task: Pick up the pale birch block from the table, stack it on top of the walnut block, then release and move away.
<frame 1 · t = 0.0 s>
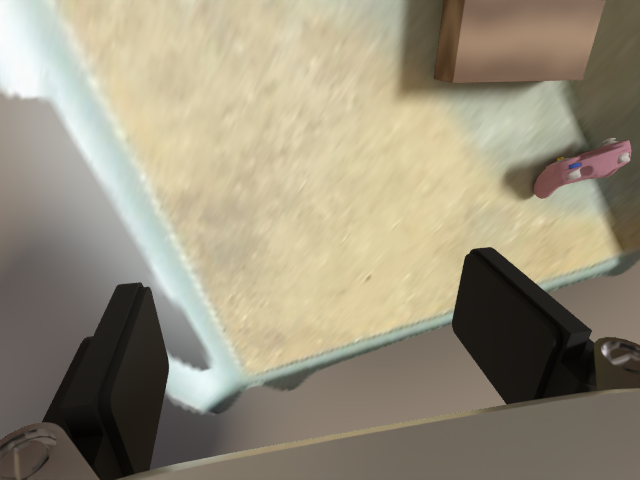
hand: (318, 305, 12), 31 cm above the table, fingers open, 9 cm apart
video game controller: (565, 162, 48), on the table
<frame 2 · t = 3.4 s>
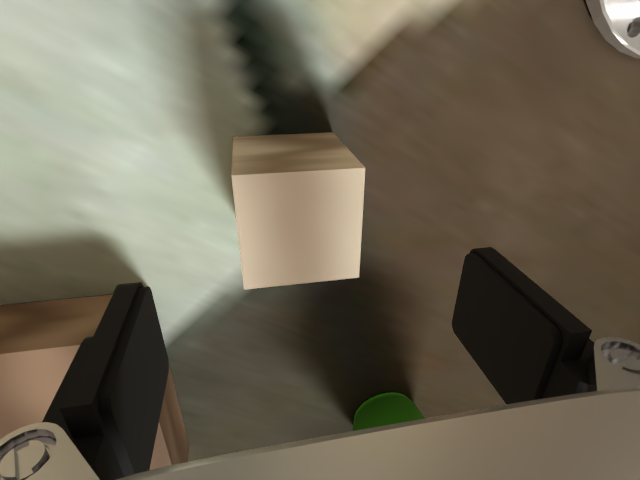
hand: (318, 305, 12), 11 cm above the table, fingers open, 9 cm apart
birch block: (285, 181, 21), on the table
cup: (382, 411, 32), on the table
walnut block: (56, 393, 25), on the table
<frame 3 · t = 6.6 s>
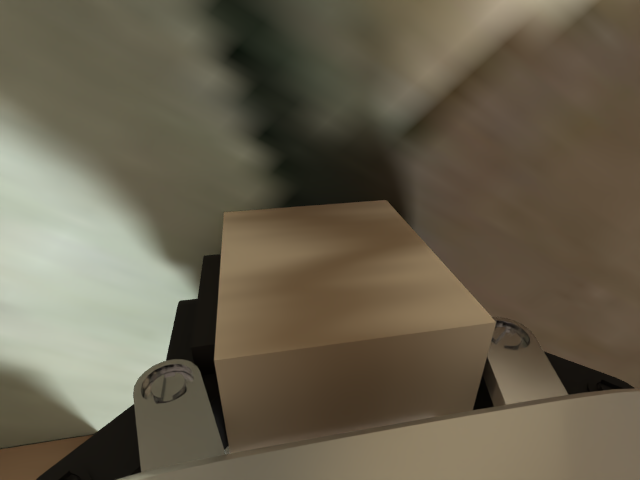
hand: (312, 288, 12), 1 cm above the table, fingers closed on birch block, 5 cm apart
birch block: (308, 274, 13), on the table, touching gripper
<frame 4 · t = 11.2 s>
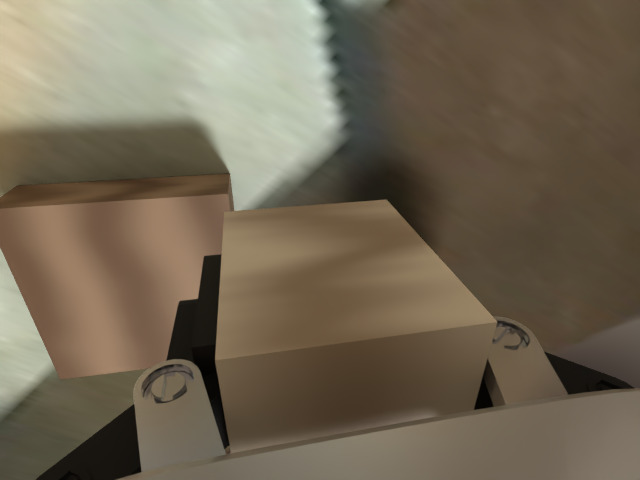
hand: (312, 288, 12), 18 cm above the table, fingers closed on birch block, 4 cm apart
birch block: (309, 274, 13), point 17 cm above the table, touching gripper
walnut block: (148, 264, 31), on the table
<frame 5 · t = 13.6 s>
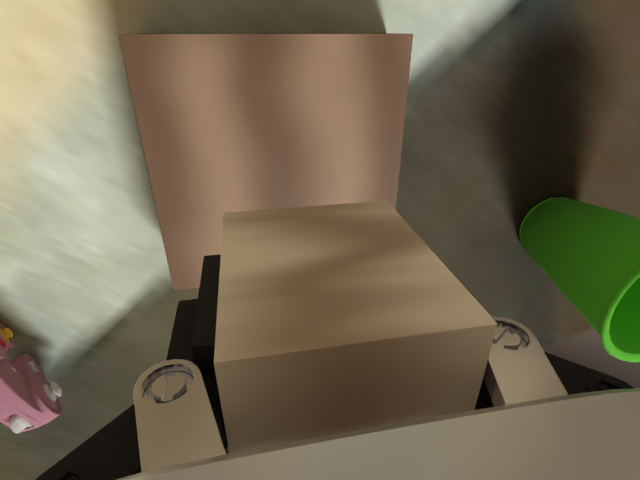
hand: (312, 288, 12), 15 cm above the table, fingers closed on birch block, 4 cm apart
birch block: (308, 275, 13), point 14 cm above the table, touching gripper
video game controller: (12, 343, 29), on the table
cup: (544, 223, 33), on the table
walnut block: (275, 155, 25), on the table
when the fingers open (6 cm above the table, at t = 15.8 s): birch block drops 1 cm, resting on walnut block.
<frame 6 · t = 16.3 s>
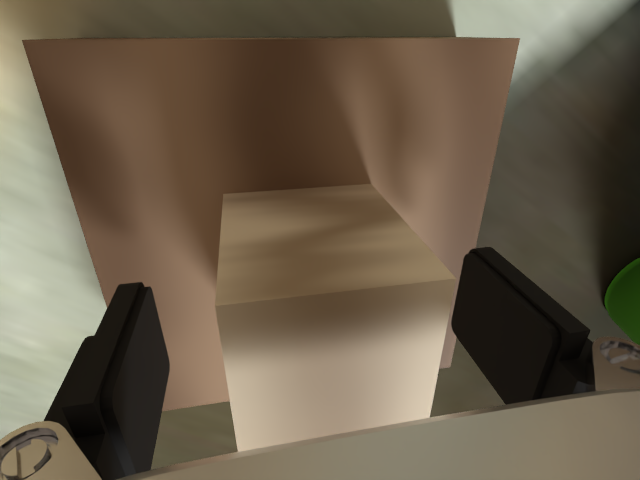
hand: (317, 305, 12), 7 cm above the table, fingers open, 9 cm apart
birch block: (301, 253, 14), point 4 cm above the table, touching walnut block
cup: (637, 284, 25), on the table
walnut block: (289, 211, 18), on the table
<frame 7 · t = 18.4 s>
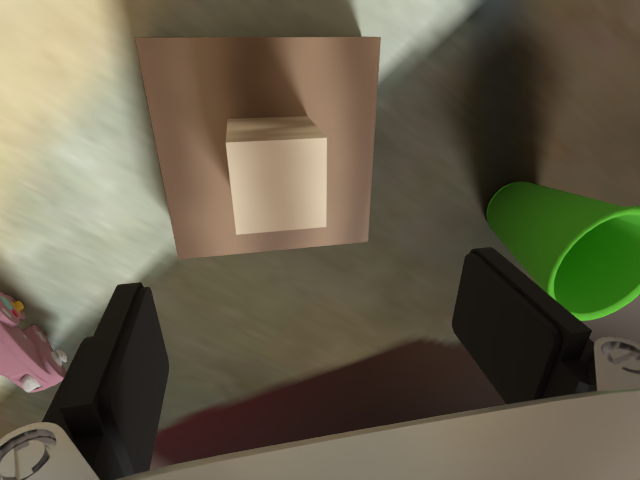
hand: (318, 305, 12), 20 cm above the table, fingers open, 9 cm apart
birch block: (270, 156, 26), point 4 cm above the table, touching walnut block
video game controller: (22, 316, 32), on the table
cup: (509, 206, 36), on the table
walnut block: (266, 142, 29), on the table
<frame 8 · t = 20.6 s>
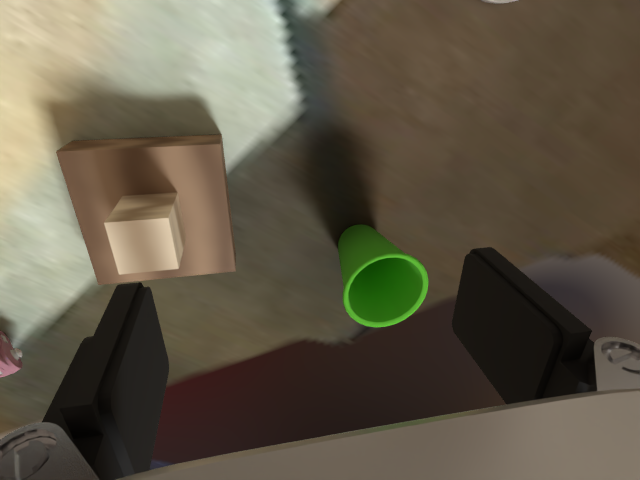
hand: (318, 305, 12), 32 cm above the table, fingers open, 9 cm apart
birch block: (155, 217, 39), point 4 cm above the table, touching walnut block
cup: (357, 241, 49), on the table
walnut block: (162, 203, 42), on the table
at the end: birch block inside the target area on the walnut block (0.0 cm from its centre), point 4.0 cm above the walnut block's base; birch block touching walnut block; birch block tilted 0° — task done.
